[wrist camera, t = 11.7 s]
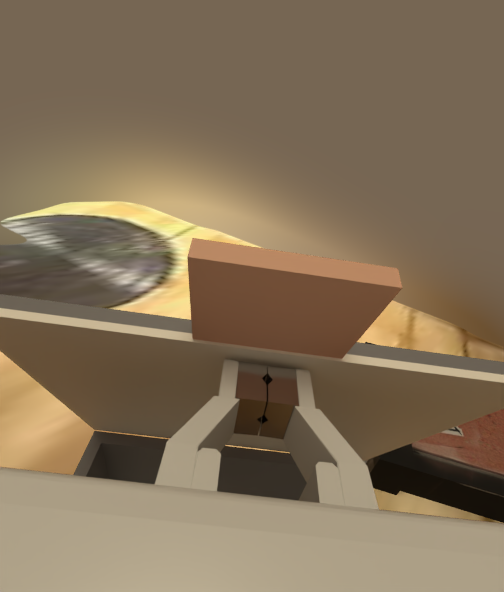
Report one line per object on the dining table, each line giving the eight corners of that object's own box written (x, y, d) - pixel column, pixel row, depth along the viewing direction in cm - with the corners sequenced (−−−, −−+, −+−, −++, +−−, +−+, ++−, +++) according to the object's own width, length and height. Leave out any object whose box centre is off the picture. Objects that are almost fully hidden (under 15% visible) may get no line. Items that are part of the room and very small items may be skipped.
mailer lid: (-170, 208, 7) (-139, 185, 7) (94, 429, 23) (98, 417, 23) (701, 334, 8) (678, 307, 8) (364, 460, 24) (363, 449, 24)
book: (551, 415, 43) (578, 390, 40) (659, 579, 28) (712, 559, 25) (354, 362, 45) (366, 335, 43) (360, 486, 31) (379, 458, 28)
